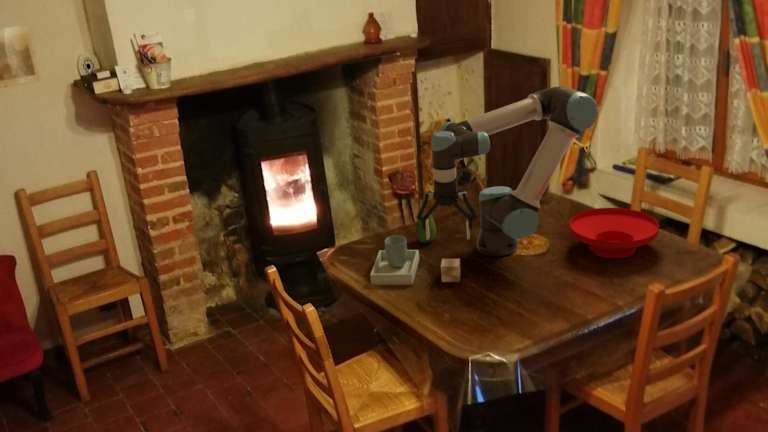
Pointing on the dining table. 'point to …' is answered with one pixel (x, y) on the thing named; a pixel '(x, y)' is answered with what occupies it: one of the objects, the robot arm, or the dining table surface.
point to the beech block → (450, 270)
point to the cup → (396, 251)
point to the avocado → (422, 233)
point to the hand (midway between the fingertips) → (448, 237)
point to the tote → (394, 270)
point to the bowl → (614, 230)
